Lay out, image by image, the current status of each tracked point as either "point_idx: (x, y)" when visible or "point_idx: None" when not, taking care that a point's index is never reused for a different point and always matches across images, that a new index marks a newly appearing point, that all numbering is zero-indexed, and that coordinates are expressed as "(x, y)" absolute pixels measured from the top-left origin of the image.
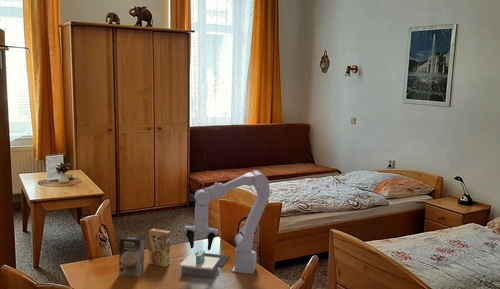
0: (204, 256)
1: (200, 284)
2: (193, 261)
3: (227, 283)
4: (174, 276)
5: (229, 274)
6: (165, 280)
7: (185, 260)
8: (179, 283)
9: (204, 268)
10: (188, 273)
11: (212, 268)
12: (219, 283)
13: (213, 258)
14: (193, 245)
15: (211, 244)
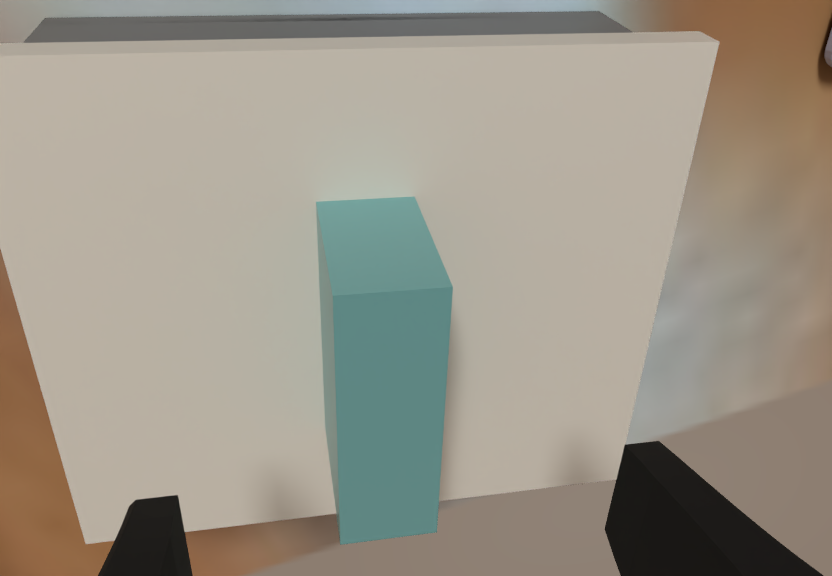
0: (425, 236)
1: (458, 504)
2: (245, 370)
3: (745, 390)
4: (60, 458)
5: (778, 160)
6: (23, 569)
7: (75, 386)
8: (224, 563)
9: (500, 483)
10: None
11: (617, 452)
12: (658, 419)
13: (590, 109)
14: (175, 543)
15: (743, 524)
